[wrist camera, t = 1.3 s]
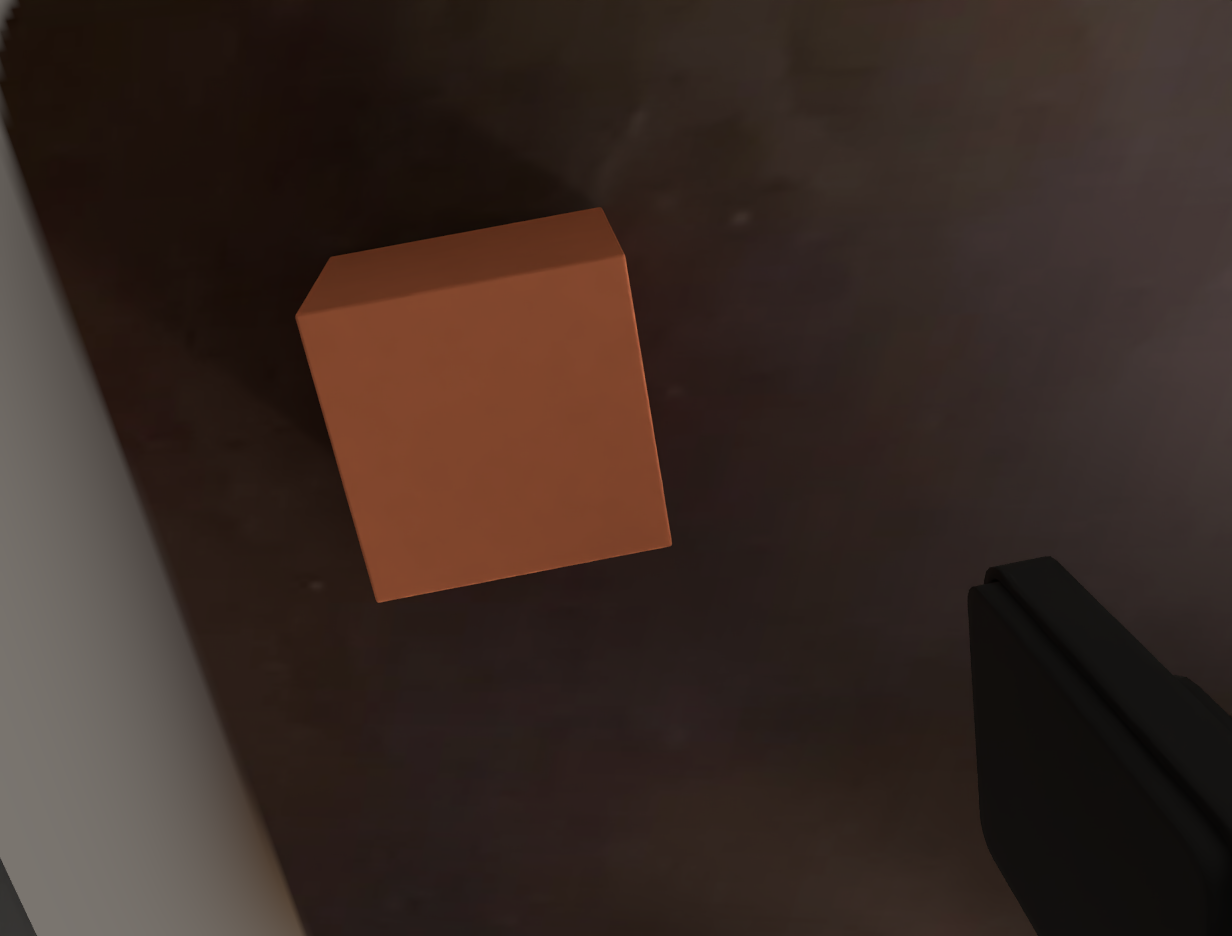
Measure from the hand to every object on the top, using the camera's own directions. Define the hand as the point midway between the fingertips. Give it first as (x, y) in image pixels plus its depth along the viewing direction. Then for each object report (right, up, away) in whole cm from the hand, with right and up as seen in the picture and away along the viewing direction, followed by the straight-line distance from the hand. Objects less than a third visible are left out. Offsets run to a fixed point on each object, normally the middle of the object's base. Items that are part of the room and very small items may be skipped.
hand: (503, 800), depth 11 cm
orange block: (-1, +5, +11) cm, 12 cm away
